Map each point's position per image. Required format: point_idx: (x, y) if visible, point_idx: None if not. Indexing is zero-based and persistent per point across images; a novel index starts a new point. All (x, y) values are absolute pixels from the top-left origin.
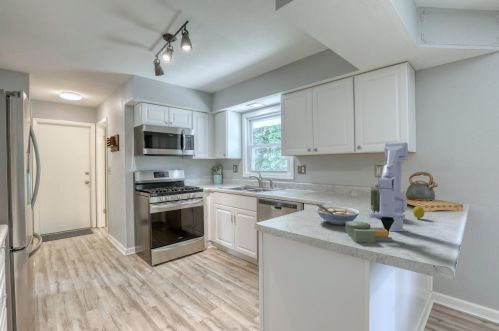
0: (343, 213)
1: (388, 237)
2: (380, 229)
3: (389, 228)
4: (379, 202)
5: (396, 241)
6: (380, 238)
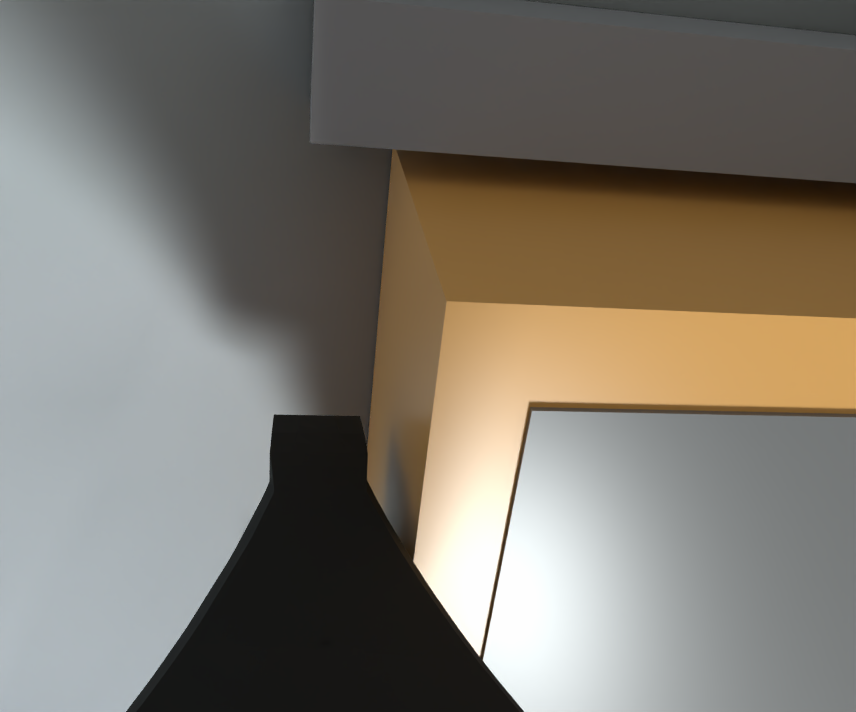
0: None
1: (446, 101)
2: (689, 574)
3: (254, 584)
4: None
5: (101, 15)
6: (826, 46)
